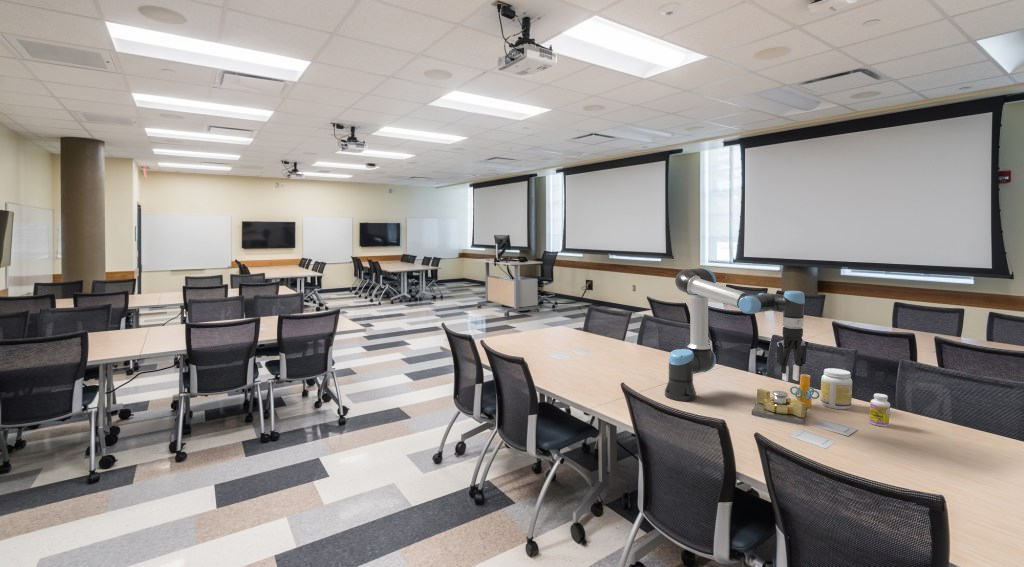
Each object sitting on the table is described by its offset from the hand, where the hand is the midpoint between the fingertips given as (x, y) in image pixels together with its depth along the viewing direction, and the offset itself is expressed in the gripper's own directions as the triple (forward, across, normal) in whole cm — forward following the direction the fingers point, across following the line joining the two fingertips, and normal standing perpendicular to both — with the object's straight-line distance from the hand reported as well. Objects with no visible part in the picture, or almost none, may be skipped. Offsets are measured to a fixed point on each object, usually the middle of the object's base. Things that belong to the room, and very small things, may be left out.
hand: (790, 380), depth 201 cm
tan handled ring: (+16, +2, +9) cm, 19 cm away
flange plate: (+19, +2, +9) cm, 21 cm away
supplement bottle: (+19, +36, -7) cm, 42 cm away
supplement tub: (+19, +35, +16) cm, 43 cm away
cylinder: (+19, +20, +17) cm, 33 cm away
